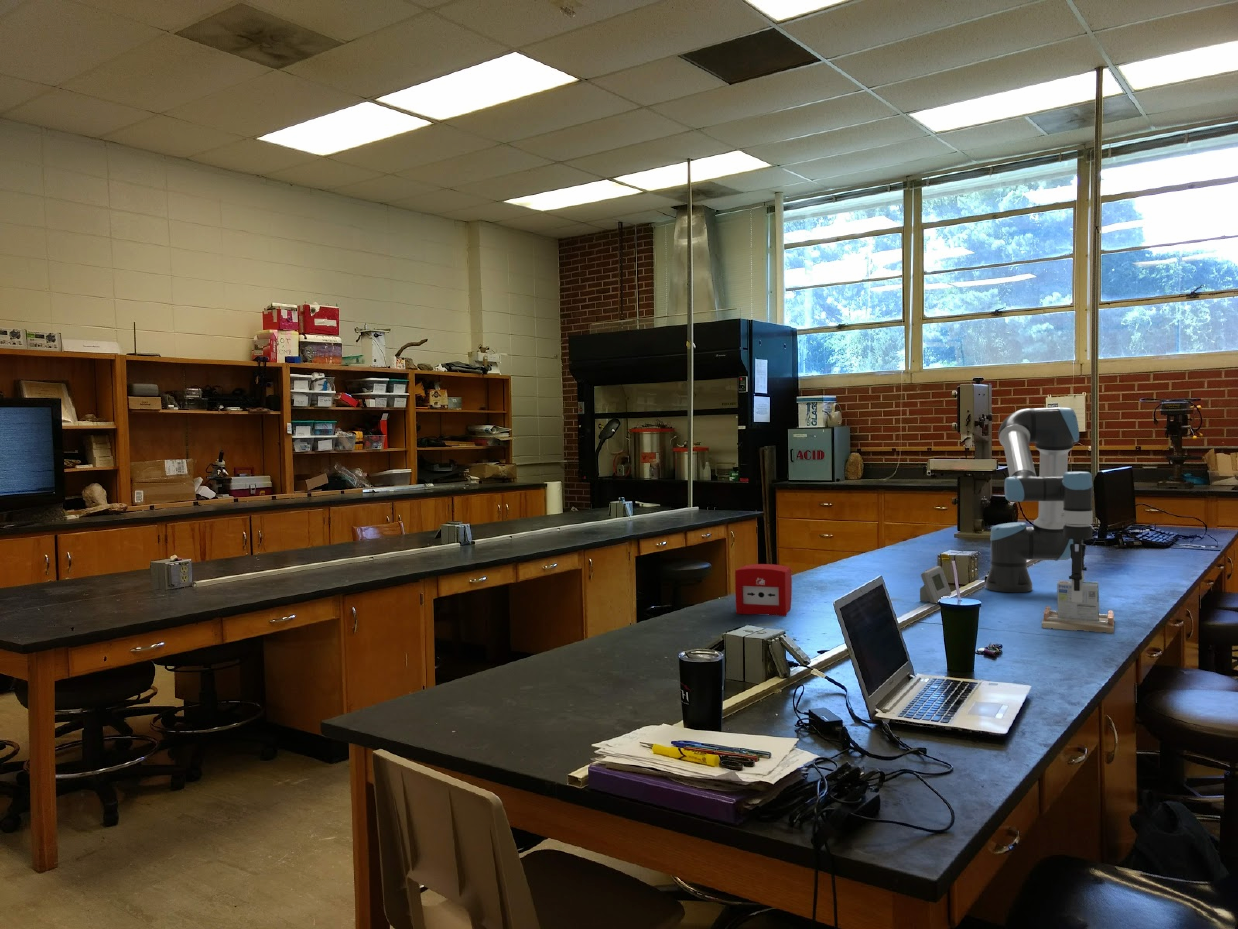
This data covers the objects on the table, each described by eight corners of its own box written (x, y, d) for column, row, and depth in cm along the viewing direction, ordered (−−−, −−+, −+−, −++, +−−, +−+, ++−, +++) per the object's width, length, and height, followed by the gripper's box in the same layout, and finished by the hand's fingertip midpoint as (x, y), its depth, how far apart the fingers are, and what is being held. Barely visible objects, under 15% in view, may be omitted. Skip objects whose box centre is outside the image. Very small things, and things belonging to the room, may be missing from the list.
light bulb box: (1099, 618, 257) (1099, 581, 256) (1098, 623, 251) (1098, 585, 250) (1058, 615, 262) (1058, 579, 262) (1056, 619, 256) (1056, 583, 256)
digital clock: (935, 605, 288) (935, 573, 288) (910, 602, 295) (910, 570, 295) (960, 598, 299) (959, 567, 299) (935, 594, 306) (935, 564, 305)
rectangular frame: (1046, 612, 266) (1046, 606, 266) (1113, 617, 257) (1113, 610, 257) (1043, 620, 256) (1043, 613, 256) (1112, 625, 248) (1112, 618, 248)
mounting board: (1046, 615, 269) (1046, 610, 269) (1114, 620, 260) (1114, 615, 260) (1041, 627, 253) (1041, 622, 253) (1113, 633, 244) (1113, 628, 244)
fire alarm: (735, 614, 284) (734, 568, 284) (743, 607, 294) (742, 562, 294) (785, 616, 278) (784, 569, 277) (792, 609, 288) (791, 564, 287)
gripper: (1065, 519, 268) (1066, 588, 269) (1060, 529, 247) (1061, 604, 248) (1093, 520, 264) (1094, 590, 265) (1090, 530, 243) (1091, 606, 244)
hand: (1078, 597), depth 257 cm, fingers open, 13 cm apart
